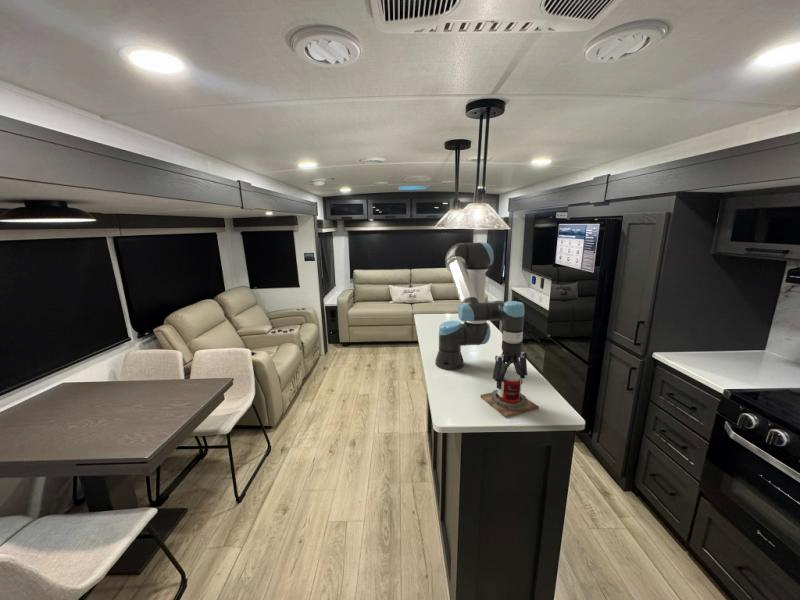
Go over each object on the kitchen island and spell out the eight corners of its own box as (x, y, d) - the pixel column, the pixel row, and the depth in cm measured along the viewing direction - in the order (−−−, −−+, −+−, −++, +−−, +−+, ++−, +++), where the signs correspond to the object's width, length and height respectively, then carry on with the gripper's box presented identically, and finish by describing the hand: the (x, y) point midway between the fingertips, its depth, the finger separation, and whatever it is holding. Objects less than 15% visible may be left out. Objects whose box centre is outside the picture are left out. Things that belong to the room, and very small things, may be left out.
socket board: (480, 397, 128) (480, 391, 128) (511, 390, 134) (511, 385, 133) (505, 417, 114) (505, 411, 113) (538, 409, 119) (539, 402, 118)
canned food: (505, 393, 129) (506, 369, 127) (522, 400, 123) (524, 375, 121) (495, 399, 124) (496, 374, 122) (512, 407, 118) (514, 381, 116)
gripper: (496, 347, 112) (493, 403, 116) (540, 340, 118) (535, 393, 123) (484, 341, 118) (482, 394, 123) (526, 334, 125) (522, 385, 130)
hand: (509, 393), depth 123 cm, fingers open, 8 cm apart
